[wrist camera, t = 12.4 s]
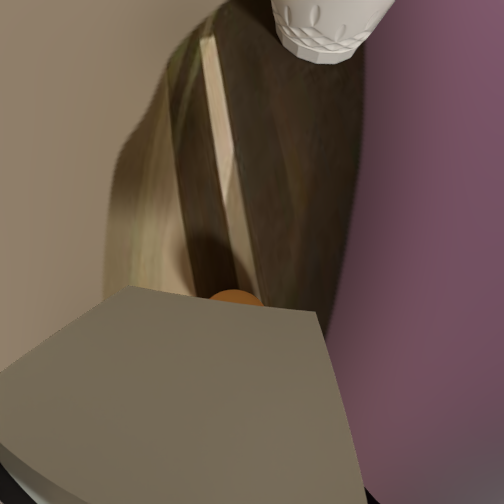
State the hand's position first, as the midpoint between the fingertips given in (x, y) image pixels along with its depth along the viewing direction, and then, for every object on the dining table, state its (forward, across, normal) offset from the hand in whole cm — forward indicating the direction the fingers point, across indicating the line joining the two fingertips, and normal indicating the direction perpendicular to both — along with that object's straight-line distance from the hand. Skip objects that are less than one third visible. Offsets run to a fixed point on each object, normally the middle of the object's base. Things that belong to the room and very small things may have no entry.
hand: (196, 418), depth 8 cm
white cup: (+13, -4, -22) cm, 26 cm away
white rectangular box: (+3, 0, 0) cm, 3 cm away
